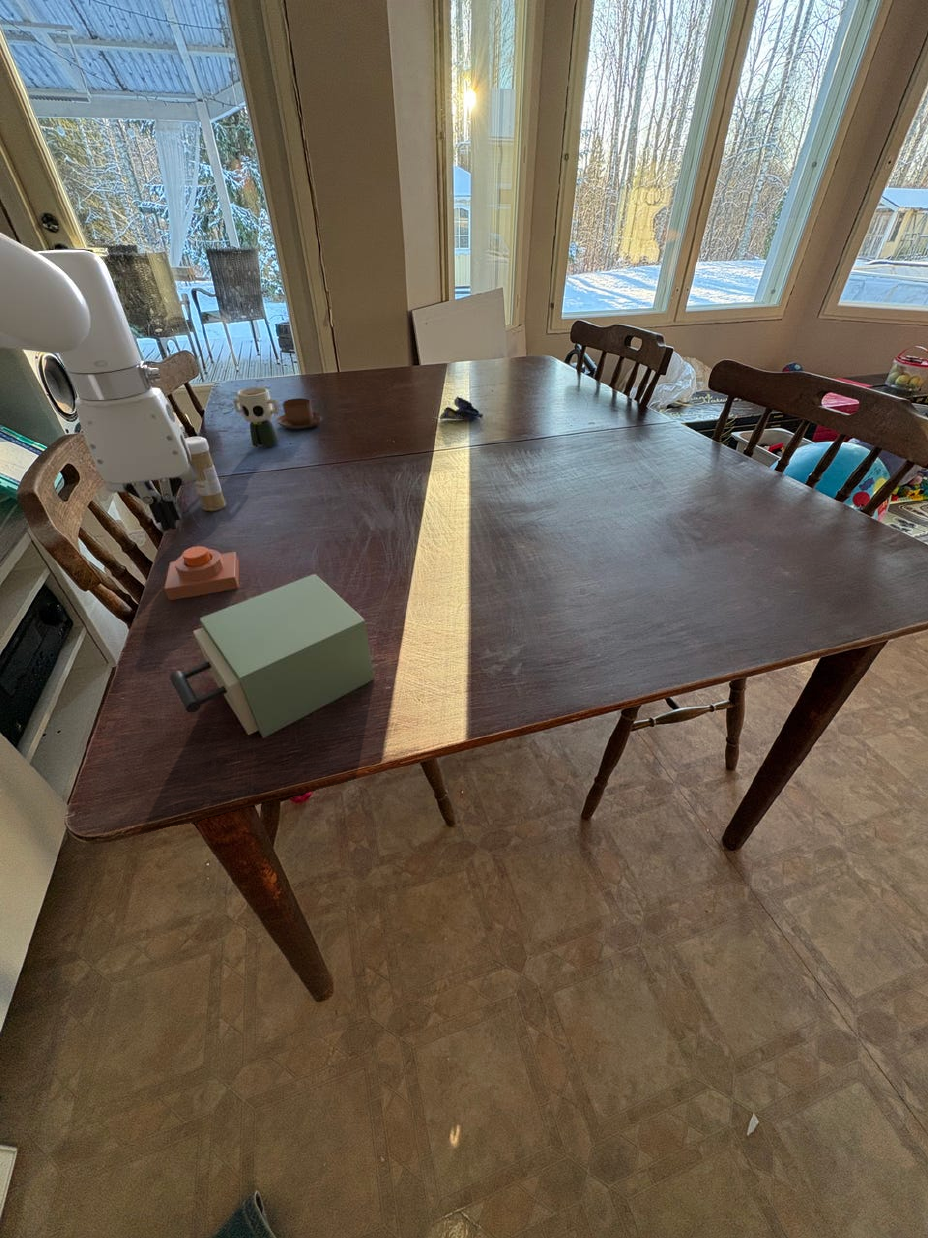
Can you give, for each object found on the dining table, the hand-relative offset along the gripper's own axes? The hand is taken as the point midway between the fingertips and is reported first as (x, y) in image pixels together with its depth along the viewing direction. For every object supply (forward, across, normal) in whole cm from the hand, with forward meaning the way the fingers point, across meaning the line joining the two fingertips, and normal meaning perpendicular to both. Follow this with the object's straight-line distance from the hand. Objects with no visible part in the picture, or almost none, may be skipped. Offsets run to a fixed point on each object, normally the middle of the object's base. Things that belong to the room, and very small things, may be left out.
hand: (171, 525), depth 70 cm
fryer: (+13, -13, +22) cm, 29 cm away
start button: (+9, 0, -5) cm, 10 cm away
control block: (+13, 0, -5) cm, 14 cm away
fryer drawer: (+12, -9, +24) cm, 28 cm away
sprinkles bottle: (+13, 0, -33) cm, 35 cm away
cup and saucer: (+14, -21, -78) cm, 82 cm away
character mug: (+13, -11, -65) cm, 68 cm away
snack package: (+14, -65, -69) cm, 96 cm away
